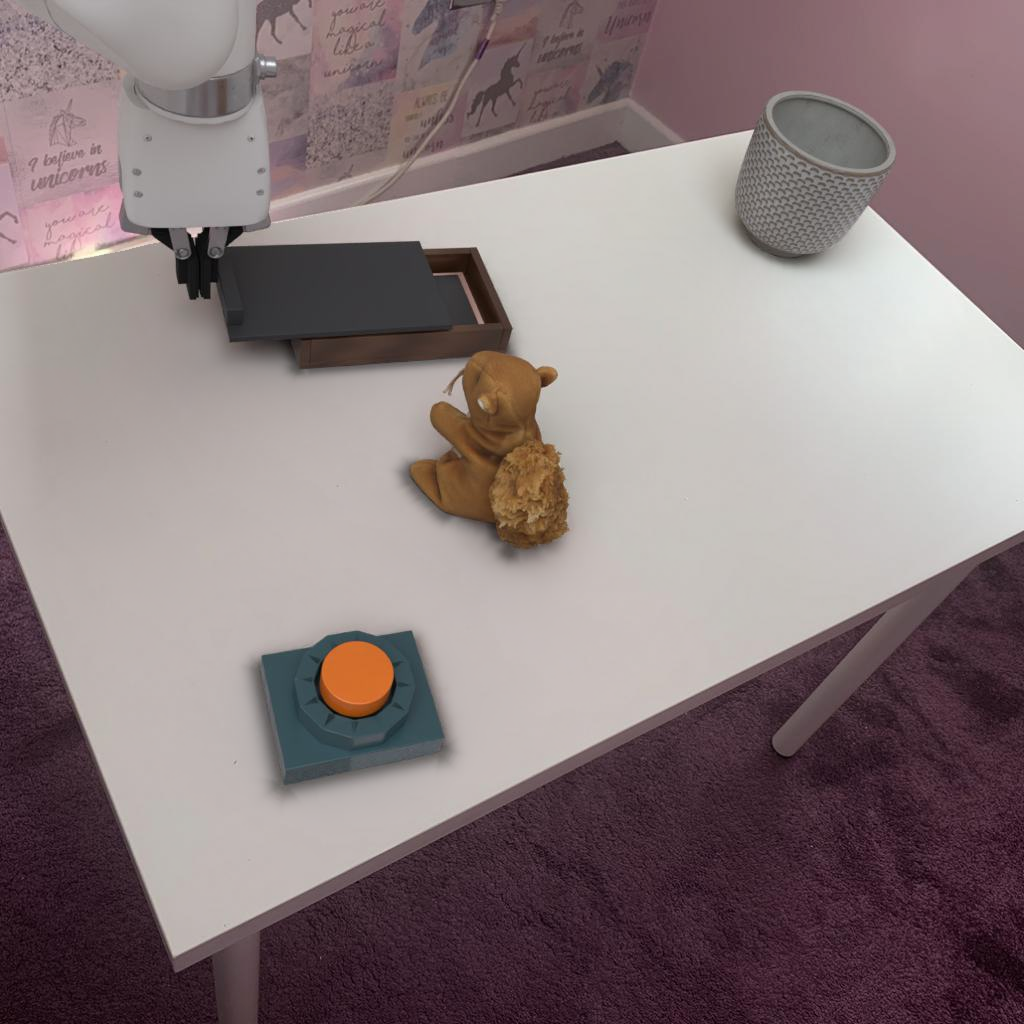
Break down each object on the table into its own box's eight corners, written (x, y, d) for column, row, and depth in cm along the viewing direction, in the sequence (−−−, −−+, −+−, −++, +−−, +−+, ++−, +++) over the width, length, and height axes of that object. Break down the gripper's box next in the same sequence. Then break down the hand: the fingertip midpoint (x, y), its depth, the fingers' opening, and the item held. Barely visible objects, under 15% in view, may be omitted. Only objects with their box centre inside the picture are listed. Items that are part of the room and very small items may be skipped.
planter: (689, 211, 112) (735, 101, 102) (775, 185, 119) (826, 80, 109) (778, 294, 107) (836, 186, 97) (862, 261, 114) (925, 157, 104)
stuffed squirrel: (500, 422, 87) (538, 301, 77) (596, 550, 81) (651, 438, 71) (394, 456, 83) (420, 333, 72) (488, 595, 77) (530, 482, 66)
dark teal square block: (283, 785, 65) (287, 757, 62) (259, 671, 69) (262, 640, 66) (439, 752, 68) (450, 724, 65) (407, 646, 73) (416, 615, 69)
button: (327, 723, 64) (330, 710, 63) (312, 661, 66) (314, 646, 65) (398, 710, 65) (401, 696, 64) (380, 649, 68) (384, 635, 66)
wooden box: (298, 369, 86) (301, 341, 84) (274, 281, 92) (275, 253, 89) (505, 354, 93) (513, 328, 90) (470, 273, 98) (476, 246, 96)
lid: (229, 343, 81) (230, 322, 80) (208, 252, 87) (208, 230, 85) (452, 329, 88) (456, 309, 86) (418, 245, 94) (422, 225, 92)
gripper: (297, 44, 74) (283, 252, 88) (65, 35, 68) (90, 259, 82) (320, 107, 70) (302, 315, 84) (77, 103, 64) (100, 326, 78)
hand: (197, 287), depth 83 cm, fingers closed
